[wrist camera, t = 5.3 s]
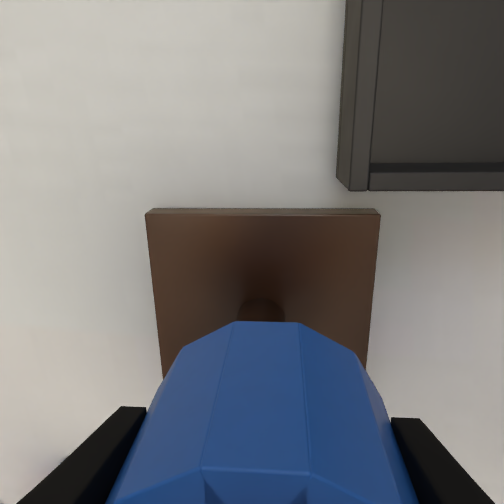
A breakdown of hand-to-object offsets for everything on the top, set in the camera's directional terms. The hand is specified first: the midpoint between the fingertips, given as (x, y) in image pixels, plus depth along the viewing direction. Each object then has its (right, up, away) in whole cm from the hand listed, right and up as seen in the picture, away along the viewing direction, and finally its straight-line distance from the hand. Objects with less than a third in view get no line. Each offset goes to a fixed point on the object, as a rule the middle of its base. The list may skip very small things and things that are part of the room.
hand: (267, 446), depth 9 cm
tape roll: (0, 0, +1) cm, 1 cm away
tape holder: (0, +2, +8) cm, 8 cm away
